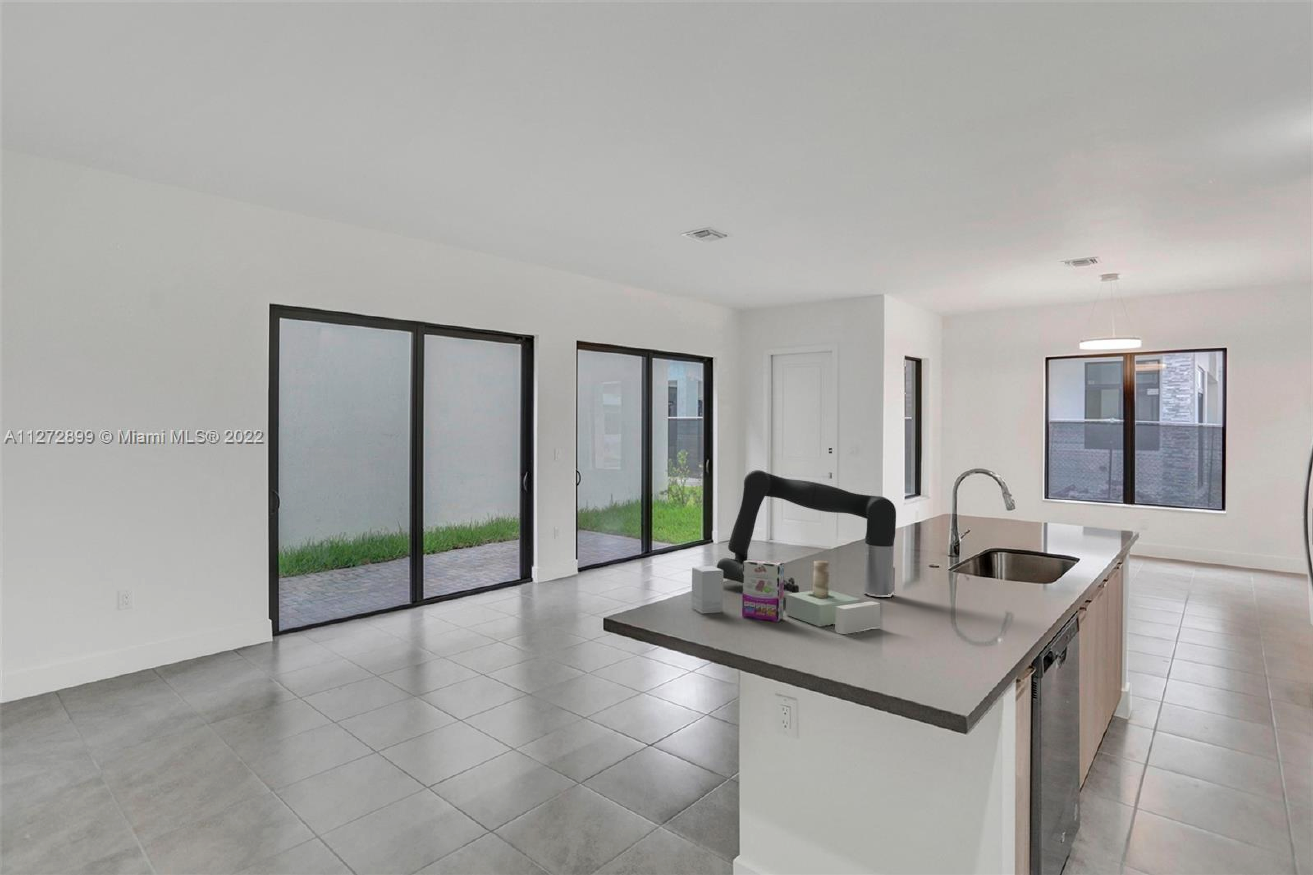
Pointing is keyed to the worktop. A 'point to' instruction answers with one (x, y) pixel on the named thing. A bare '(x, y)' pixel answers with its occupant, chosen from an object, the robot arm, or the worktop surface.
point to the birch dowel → (821, 579)
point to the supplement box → (707, 589)
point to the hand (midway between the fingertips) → (797, 589)
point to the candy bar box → (763, 590)
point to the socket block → (816, 606)
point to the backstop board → (857, 617)
